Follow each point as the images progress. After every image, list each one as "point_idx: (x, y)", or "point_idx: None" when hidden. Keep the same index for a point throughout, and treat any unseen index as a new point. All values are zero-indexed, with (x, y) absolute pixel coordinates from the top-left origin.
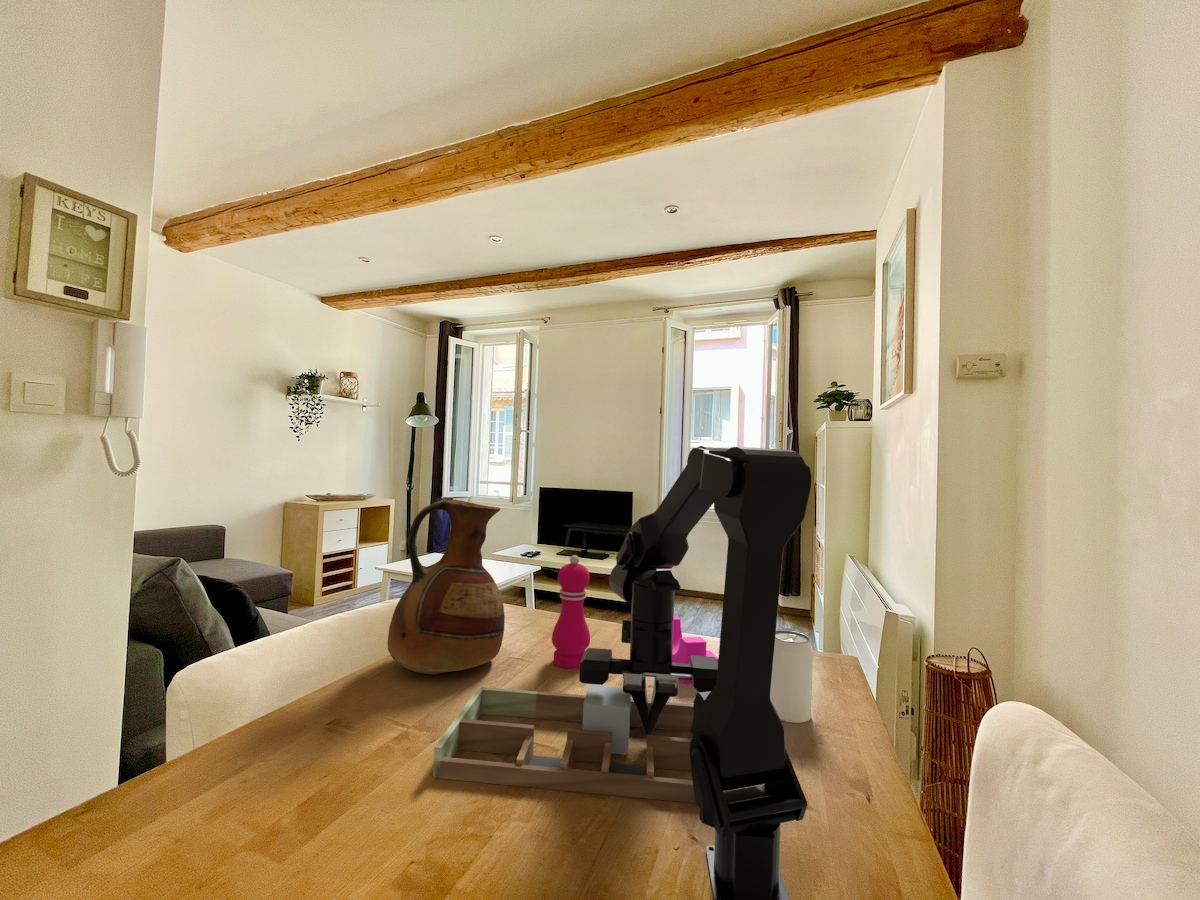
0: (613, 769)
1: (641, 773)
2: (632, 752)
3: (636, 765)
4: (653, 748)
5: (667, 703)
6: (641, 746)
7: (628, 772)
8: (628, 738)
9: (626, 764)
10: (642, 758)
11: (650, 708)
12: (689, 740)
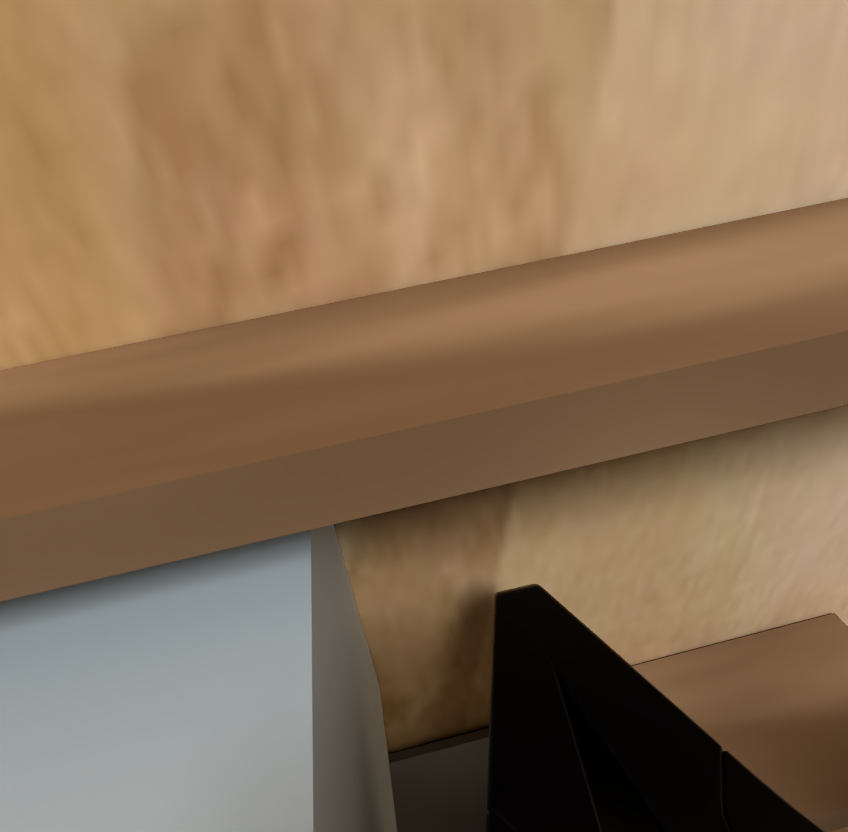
0: None
1: (485, 777)
2: (402, 654)
3: (451, 748)
4: None
5: (840, 380)
6: (449, 583)
7: (421, 795)
8: (380, 737)
9: (397, 763)
10: (472, 674)
11: (617, 795)
12: (840, 820)
